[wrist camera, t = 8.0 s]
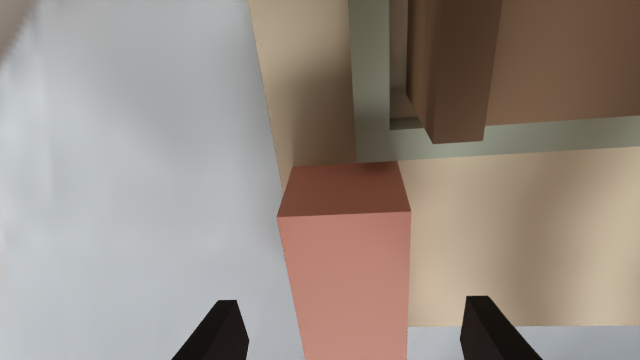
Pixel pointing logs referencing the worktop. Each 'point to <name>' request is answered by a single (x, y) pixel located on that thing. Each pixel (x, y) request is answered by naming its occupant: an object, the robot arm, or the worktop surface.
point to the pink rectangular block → (348, 259)
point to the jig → (460, 173)
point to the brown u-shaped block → (520, 63)
